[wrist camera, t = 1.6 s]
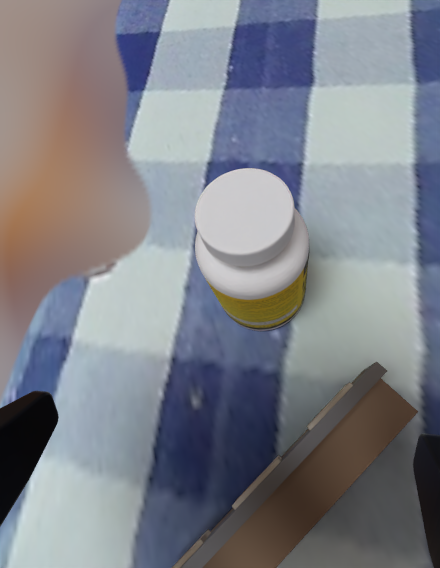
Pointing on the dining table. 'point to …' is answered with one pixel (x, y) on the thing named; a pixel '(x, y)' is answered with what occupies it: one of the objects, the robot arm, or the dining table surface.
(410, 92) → the dining table surface
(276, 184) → the supplement bottle
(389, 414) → the rail
